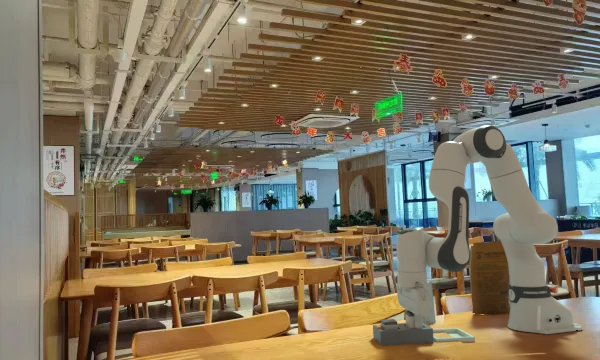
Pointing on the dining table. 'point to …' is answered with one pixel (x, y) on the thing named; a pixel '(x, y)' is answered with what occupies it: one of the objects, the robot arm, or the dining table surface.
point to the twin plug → (389, 324)
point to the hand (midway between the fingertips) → (414, 326)
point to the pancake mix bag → (489, 278)
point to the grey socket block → (403, 335)
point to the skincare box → (430, 318)
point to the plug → (410, 319)
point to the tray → (454, 335)
